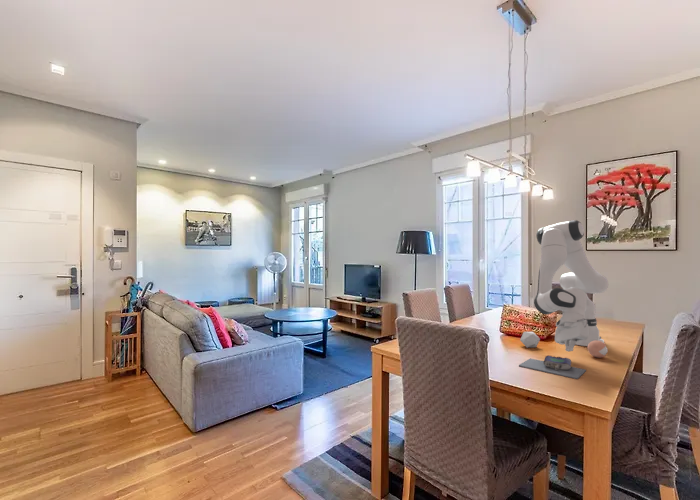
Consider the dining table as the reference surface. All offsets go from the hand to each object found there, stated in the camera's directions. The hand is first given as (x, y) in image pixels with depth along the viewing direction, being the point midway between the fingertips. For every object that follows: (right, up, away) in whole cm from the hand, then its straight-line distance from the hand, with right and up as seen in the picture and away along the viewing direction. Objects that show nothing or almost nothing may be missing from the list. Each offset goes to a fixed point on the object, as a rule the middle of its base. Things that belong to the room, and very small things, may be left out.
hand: (569, 350), depth 153 cm
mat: (-12, -6, -6) cm, 14 cm away
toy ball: (+20, -6, +9) cm, 22 cm away
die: (-3, -6, +28) cm, 29 cm away
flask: (-6, -4, -1) cm, 7 cm away
